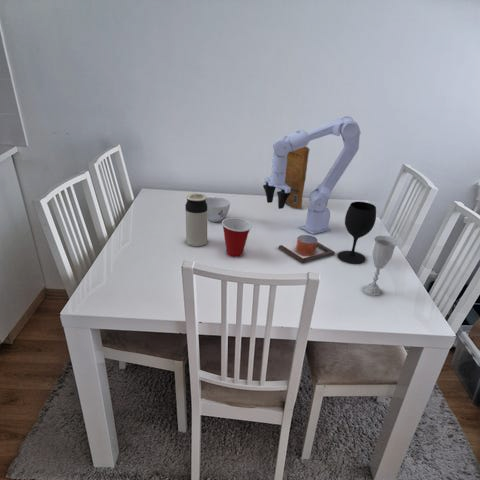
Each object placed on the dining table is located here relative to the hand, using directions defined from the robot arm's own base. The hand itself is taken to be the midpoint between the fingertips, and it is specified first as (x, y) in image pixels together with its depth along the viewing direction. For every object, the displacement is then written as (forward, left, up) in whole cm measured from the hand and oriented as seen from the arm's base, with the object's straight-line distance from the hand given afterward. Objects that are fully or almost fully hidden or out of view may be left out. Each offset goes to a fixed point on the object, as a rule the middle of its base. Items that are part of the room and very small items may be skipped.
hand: (275, 205), depth 171 cm
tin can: (+3, +25, -9) cm, 27 cm away
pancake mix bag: (-24, -19, -10) cm, 32 cm away
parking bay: (+3, +24, -9) cm, 26 cm away
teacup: (+18, -19, -10) cm, 28 cm away
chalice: (+3, +58, -10) cm, 59 cm away
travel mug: (+36, -1, -10) cm, 37 cm away
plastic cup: (+28, +14, -10) cm, 33 cm away
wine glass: (-9, +37, -10) cm, 39 cm away
